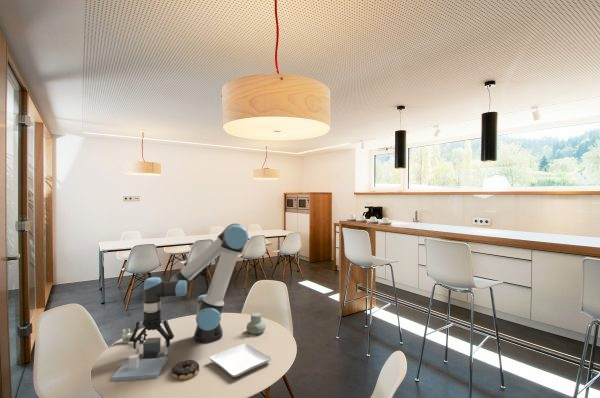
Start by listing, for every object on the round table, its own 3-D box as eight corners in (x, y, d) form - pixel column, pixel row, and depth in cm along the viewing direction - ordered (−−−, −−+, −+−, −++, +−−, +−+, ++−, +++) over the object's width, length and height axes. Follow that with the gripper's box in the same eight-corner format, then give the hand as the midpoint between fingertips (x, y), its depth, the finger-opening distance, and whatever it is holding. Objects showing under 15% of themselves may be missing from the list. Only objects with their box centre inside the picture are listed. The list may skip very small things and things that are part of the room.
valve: (118, 344, 159) (138, 346, 157) (118, 332, 159) (139, 333, 157) (127, 339, 166) (147, 340, 164) (127, 327, 166) (147, 328, 164)
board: (167, 360, 143) (167, 346, 143) (157, 377, 129) (157, 362, 129) (126, 363, 140) (126, 349, 140) (111, 381, 126) (111, 365, 126)
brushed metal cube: (160, 351, 152) (160, 337, 152) (156, 357, 146) (156, 342, 146) (147, 352, 151) (147, 338, 151) (143, 358, 145) (143, 343, 145)
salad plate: (273, 364, 140) (273, 356, 141) (233, 383, 125) (233, 375, 125) (246, 348, 155) (246, 342, 155) (207, 364, 140) (207, 356, 140)
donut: (190, 364, 140) (190, 355, 140) (205, 373, 133) (205, 363, 133) (166, 374, 132) (166, 365, 132) (181, 384, 124) (181, 374, 124)
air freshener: (267, 330, 178) (267, 312, 178) (262, 336, 170) (262, 318, 170) (250, 328, 181) (250, 311, 181) (244, 333, 173) (244, 316, 173)
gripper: (180, 306, 154) (180, 349, 154) (128, 308, 151) (128, 352, 150) (176, 311, 147) (176, 356, 146) (121, 314, 143) (121, 360, 143)
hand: (151, 354), depth 148 cm, fingers open, 12 cm apart
